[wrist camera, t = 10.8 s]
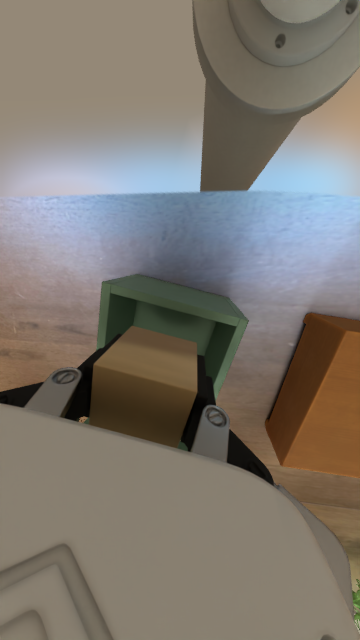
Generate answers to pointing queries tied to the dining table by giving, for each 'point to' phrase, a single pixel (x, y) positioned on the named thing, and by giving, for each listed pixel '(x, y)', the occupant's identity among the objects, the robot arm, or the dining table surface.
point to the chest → (174, 318)
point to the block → (145, 386)
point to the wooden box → (321, 400)
